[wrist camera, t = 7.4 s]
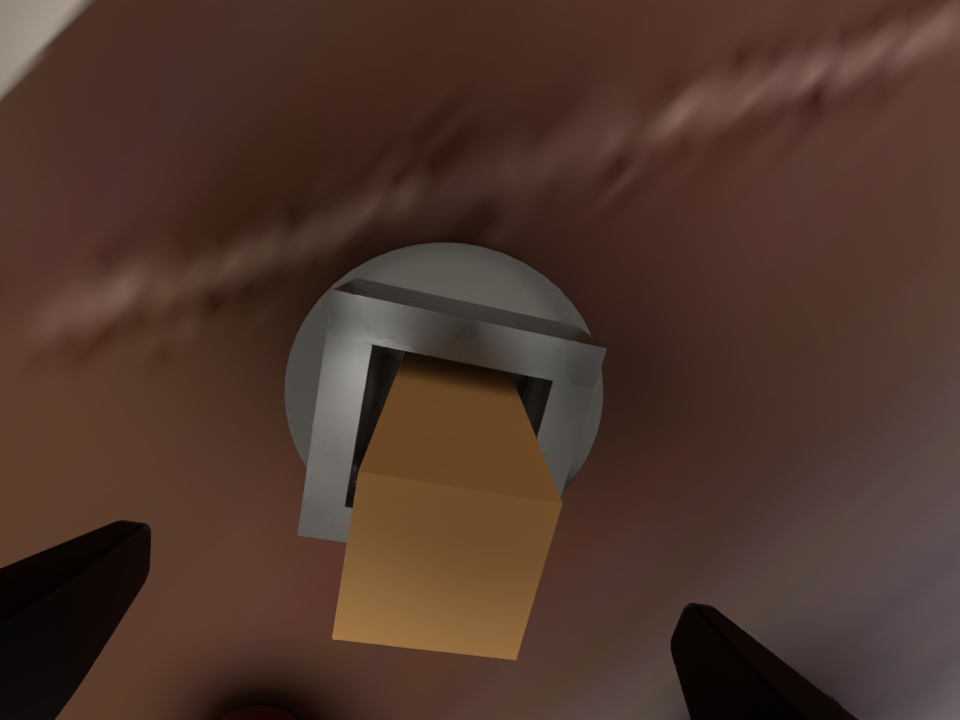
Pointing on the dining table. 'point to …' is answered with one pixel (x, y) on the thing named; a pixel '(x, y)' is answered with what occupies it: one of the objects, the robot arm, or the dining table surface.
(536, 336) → the silver square frame
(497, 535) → the orange-brown rectangular block
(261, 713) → the mug
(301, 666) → the dining table surface
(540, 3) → the dining table surface
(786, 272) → the dining table surface
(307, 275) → the dining table surface
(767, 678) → the robot arm
